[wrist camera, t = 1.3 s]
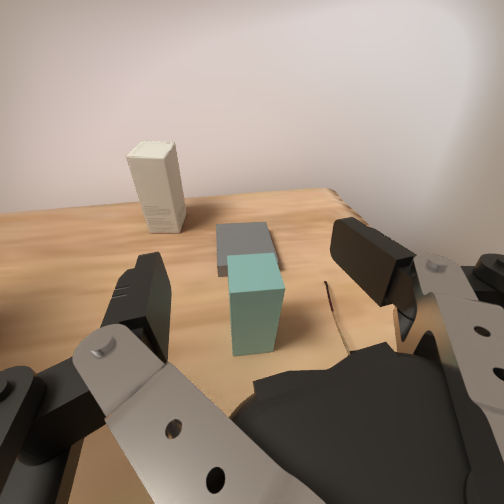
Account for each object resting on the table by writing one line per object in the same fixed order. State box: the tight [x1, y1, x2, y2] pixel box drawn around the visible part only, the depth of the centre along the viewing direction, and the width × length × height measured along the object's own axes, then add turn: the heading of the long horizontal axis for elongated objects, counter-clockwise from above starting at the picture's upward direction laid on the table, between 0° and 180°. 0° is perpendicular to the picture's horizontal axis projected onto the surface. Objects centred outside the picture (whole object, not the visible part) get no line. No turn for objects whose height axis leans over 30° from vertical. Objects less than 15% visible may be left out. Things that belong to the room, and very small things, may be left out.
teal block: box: [227, 253, 285, 356], centre depth 26 cm, size 5×5×12 cm
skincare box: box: [126, 141, 187, 234], centre depth 44 cm, size 8×7×16 cm
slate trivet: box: [216, 222, 279, 277], centre depth 42 cm, size 10×12×2 cm
